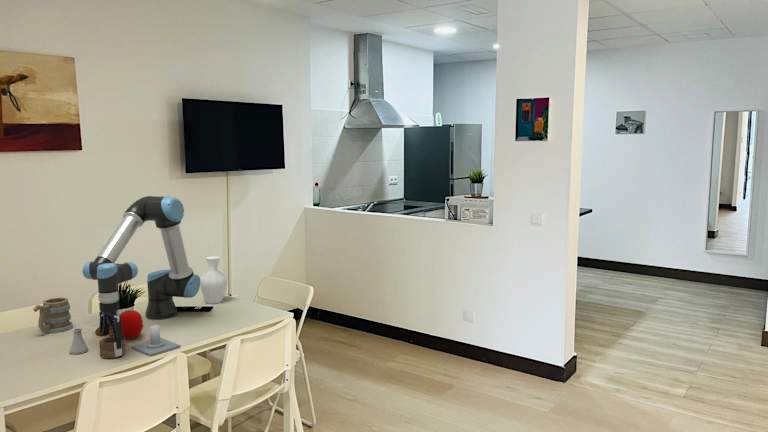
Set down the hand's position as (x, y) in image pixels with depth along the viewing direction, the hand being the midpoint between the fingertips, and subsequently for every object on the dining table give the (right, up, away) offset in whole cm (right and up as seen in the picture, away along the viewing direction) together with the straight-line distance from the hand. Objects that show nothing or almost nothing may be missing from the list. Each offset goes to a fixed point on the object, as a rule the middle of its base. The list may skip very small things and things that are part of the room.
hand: (112, 353), depth 244 cm
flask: (-16, -1, +4) cm, 17 cm away
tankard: (-42, +3, +30) cm, 52 cm away
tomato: (-2, +2, +22) cm, 22 cm away
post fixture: (+15, 0, +9) cm, 17 cm away
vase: (+19, +10, +80) cm, 83 cm away
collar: (0, 0, 0) cm, 0 cm away
